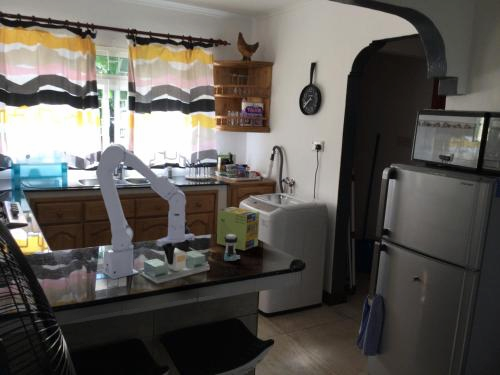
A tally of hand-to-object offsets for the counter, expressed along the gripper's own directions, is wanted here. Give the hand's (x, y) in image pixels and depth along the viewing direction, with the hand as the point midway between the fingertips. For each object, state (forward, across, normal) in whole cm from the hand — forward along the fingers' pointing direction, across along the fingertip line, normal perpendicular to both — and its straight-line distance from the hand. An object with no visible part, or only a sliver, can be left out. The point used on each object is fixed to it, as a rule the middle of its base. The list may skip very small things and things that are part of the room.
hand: (175, 262), depth 147 cm
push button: (+4, +25, -2) cm, 25 cm away
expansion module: (+2, 0, 0) cm, 2 cm away
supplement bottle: (+4, +17, +21) cm, 27 cm away
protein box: (+4, +41, +12) cm, 43 cm away
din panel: (+3, 0, 0) cm, 3 cm away
